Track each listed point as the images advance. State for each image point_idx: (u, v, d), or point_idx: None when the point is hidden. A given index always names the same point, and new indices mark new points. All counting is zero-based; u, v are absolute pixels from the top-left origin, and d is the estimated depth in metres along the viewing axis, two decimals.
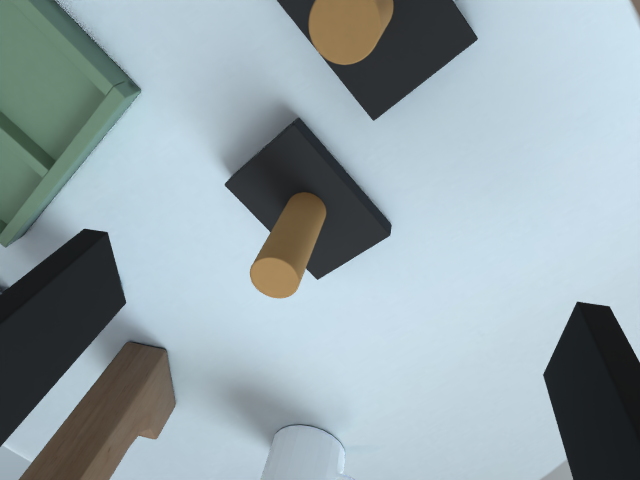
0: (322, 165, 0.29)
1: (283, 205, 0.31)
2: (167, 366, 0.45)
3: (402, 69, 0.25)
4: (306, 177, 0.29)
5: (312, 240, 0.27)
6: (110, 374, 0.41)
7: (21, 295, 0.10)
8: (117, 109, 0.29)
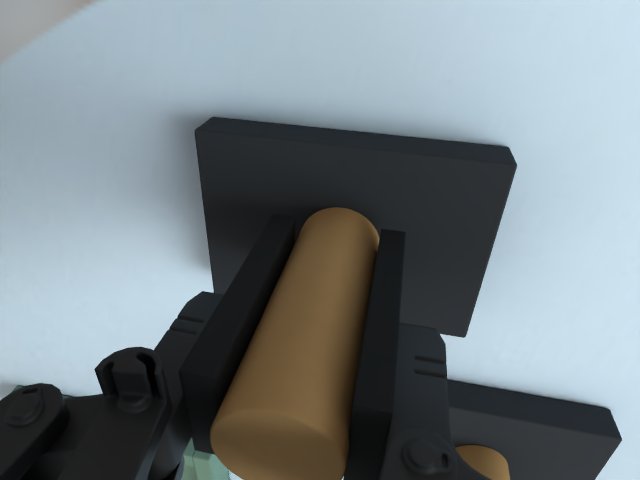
0: None
1: None
2: None
3: (446, 267, 0.15)
4: None
5: None
6: None
7: (257, 271, 0.11)
8: (212, 470, 0.25)
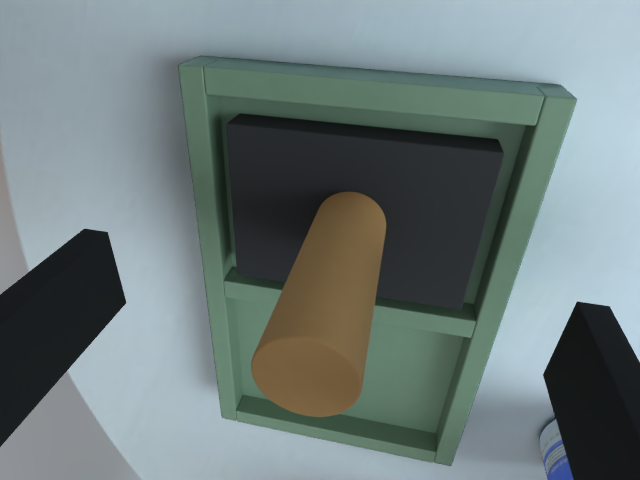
0: None
1: None
2: None
3: (444, 244, 0.17)
4: None
5: None
6: None
7: (21, 295, 0.10)
8: (563, 135, 0.15)
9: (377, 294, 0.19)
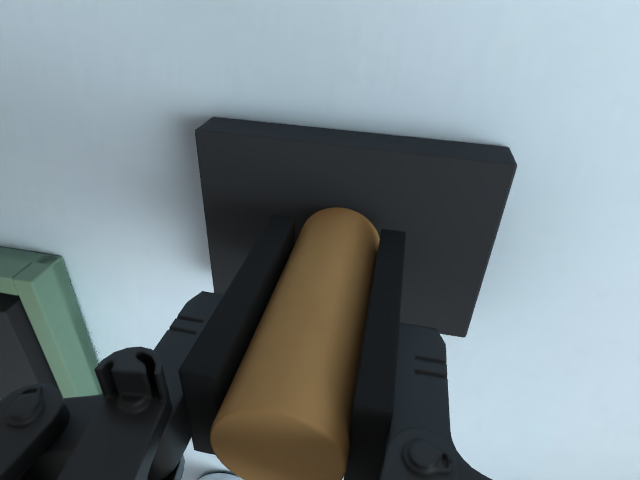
0: (289, 151, 0.14)
1: None
2: None
3: (9, 366, 0.22)
4: (289, 192, 0.15)
5: (341, 295, 0.11)
6: None
7: (257, 271, 0.11)
8: (42, 301, 0.20)
9: None
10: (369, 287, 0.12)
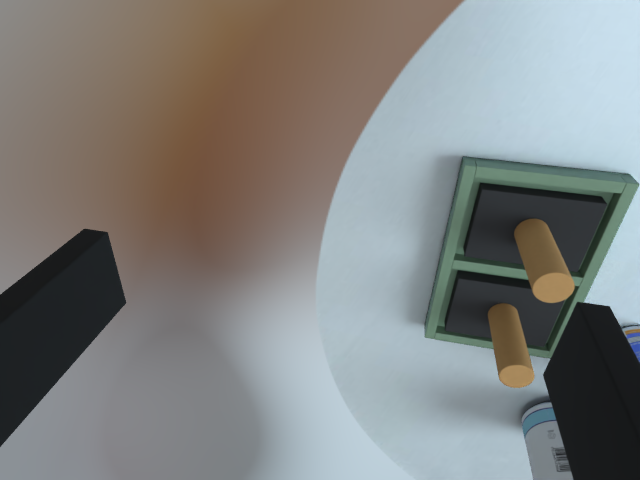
0: (491, 286, 0.42)
1: (486, 320, 0.45)
2: None
3: (574, 241, 0.38)
4: (487, 298, 0.43)
5: (520, 336, 0.39)
6: None
7: (21, 295, 0.10)
8: (632, 197, 0.36)
9: None
10: (523, 332, 0.41)
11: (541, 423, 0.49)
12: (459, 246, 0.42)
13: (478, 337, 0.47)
